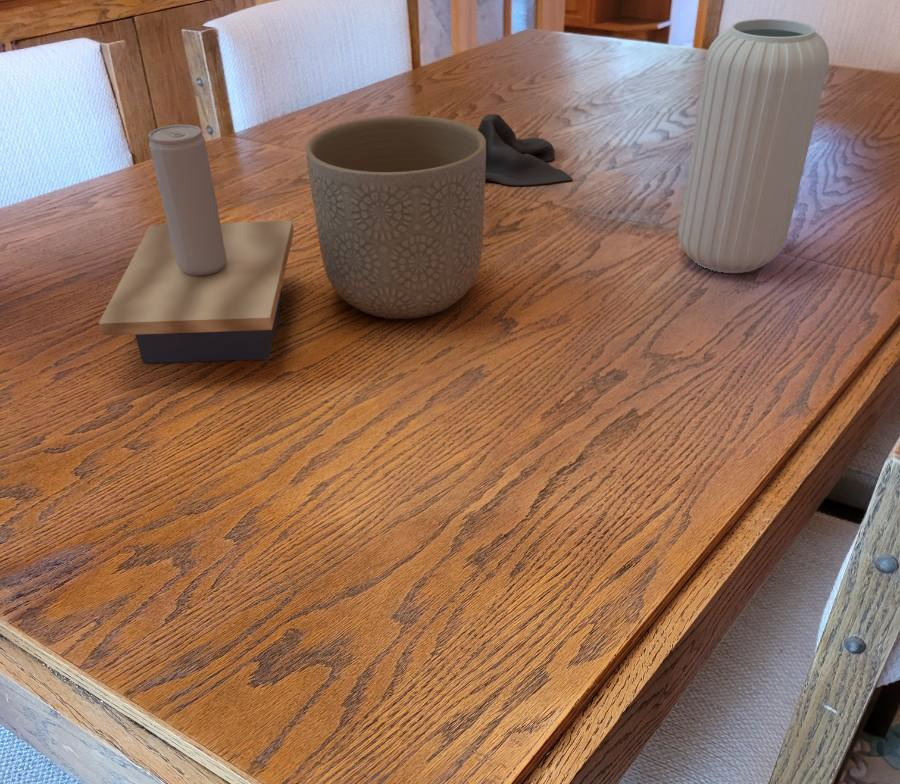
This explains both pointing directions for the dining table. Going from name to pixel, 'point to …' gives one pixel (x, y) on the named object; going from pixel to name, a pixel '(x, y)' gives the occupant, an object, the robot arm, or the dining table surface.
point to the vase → (751, 142)
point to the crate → (207, 345)
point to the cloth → (517, 156)
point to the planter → (399, 211)
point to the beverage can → (188, 198)
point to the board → (202, 284)
